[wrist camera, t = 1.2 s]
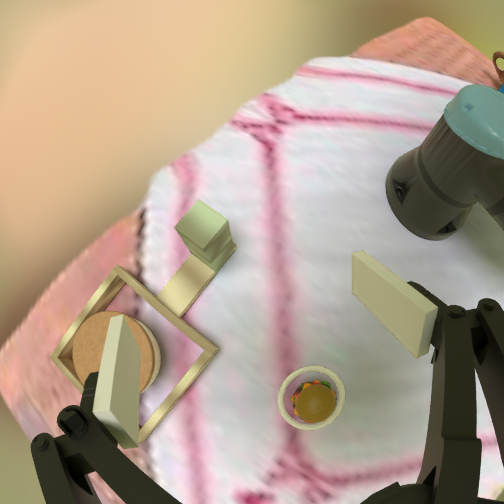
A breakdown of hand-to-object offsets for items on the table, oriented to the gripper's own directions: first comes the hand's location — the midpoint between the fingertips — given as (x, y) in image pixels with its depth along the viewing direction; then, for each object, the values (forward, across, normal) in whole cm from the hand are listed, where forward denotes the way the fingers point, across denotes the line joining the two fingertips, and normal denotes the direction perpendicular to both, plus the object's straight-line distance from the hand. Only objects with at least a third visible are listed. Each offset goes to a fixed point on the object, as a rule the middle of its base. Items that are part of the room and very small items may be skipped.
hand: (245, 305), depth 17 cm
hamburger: (+11, +7, -25) cm, 28 cm away
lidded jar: (+20, -14, -17) cm, 30 cm away
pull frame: (+21, -10, -14) cm, 27 cm away
